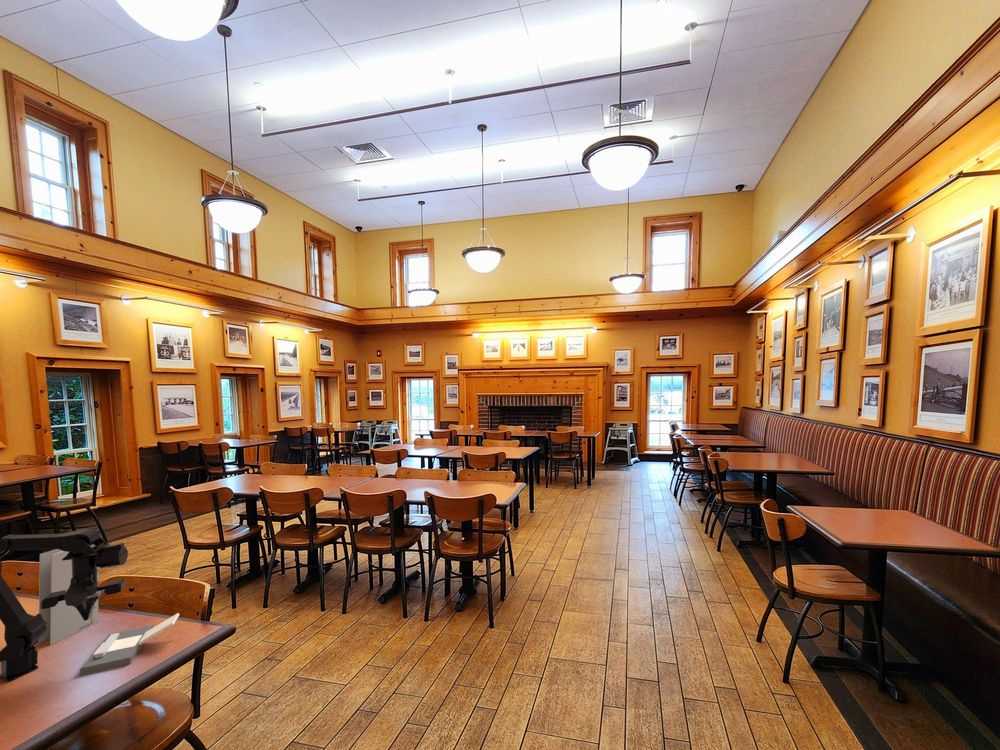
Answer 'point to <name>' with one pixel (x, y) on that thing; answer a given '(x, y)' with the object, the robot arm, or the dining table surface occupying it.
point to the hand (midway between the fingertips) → (86, 619)
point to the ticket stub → (159, 628)
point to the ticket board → (115, 650)
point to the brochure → (61, 616)
